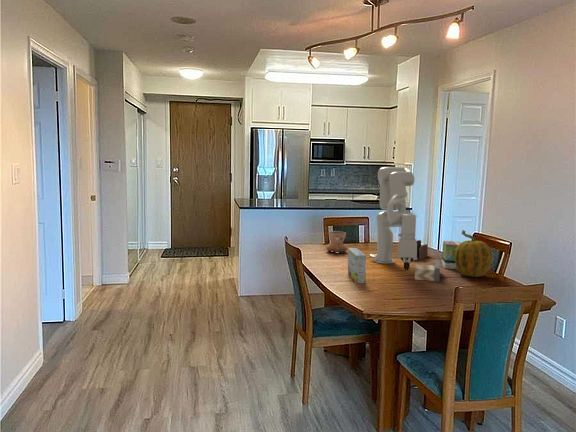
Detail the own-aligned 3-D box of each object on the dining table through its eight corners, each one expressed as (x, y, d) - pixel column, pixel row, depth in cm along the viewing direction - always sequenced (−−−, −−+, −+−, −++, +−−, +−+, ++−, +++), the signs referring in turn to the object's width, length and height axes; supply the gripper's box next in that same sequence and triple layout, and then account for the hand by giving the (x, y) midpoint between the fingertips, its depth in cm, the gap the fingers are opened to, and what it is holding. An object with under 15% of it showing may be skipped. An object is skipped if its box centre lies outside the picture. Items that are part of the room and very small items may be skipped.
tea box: (462, 269, 278) (463, 244, 277) (444, 268, 280) (445, 244, 279) (458, 264, 293) (459, 240, 291) (441, 263, 295) (442, 240, 293)
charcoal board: (434, 281, 250) (434, 268, 249) (434, 272, 271) (434, 260, 270) (439, 281, 249) (439, 268, 248) (438, 272, 270) (439, 260, 269)
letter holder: (404, 259, 308) (405, 237, 306) (412, 254, 325) (413, 234, 323) (419, 261, 303) (420, 239, 301) (427, 256, 320) (428, 235, 318)
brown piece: (347, 254, 321) (348, 233, 319) (326, 254, 322) (326, 233, 321) (346, 250, 338) (347, 230, 337) (326, 249, 340) (327, 230, 338)
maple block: (414, 279, 254) (415, 268, 253) (415, 274, 265) (415, 264, 264) (434, 281, 251) (434, 270, 250) (434, 276, 262) (434, 265, 261)
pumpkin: (449, 271, 272) (451, 228, 270) (483, 272, 272) (485, 229, 269) (460, 279, 254) (462, 233, 251) (496, 280, 253) (499, 233, 250)
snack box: (346, 274, 264) (347, 247, 262) (356, 274, 264) (357, 247, 263) (355, 284, 243) (356, 255, 241) (366, 283, 243) (367, 255, 242)
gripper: (393, 236, 256) (392, 270, 258) (422, 238, 252) (420, 272, 254) (394, 234, 263) (393, 266, 265) (422, 236, 259) (420, 269, 261)
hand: (406, 269), depth 260 cm, fingers closed
